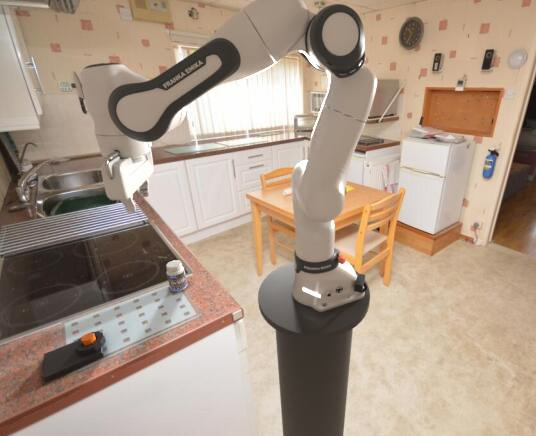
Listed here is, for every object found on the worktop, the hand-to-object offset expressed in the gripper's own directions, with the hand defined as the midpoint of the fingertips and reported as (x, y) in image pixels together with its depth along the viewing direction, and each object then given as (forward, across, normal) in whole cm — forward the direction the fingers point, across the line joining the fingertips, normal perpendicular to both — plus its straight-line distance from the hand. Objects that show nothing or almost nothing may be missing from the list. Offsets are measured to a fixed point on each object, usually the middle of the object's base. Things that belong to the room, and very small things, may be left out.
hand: (139, 203), depth 70 cm
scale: (+30, -16, +15) cm, 37 cm away
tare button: (+27, -15, +12) cm, 33 cm away
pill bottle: (+30, +5, -3) cm, 31 cm away
